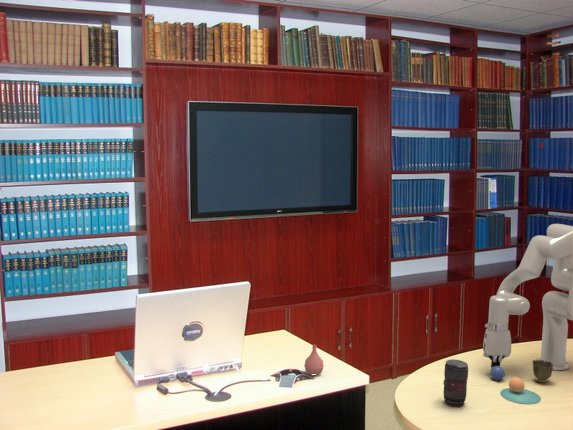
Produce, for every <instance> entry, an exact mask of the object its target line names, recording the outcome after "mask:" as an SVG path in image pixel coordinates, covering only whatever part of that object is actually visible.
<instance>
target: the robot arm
mask: <svg viewBox="0 0 573 430" xmlns="http://www.w3.org/2000/svg"><path fill="white" fill-rule="evenodd" d="M548 259H550V260H551V259H552V260H554V262H553V263H554V264H553V268H552V270H551V276H550V278H551V279H550V282H551V285H552V286H553V287H554V288H557V289H558V290H562V291H565V292H568V294H567V293H565V292H561V291H557V290H551V291H547V292H546V293H545V294H544V295H543V297H542V301H541V307H542V314H543V315H542V316H543V322H542V335H541V336H542V337H541V349H540V350H541V351H540V357H539V358H537V359H536V360H538V361H539V360H541V361H542V360H543V361H544V362H545V361H546V360H547V362H549V361H550V362H551V363H552V365H553V369H552V371H553V370H554V371H565V370H568V369H569V368H570V363H568V362H567V361H566V359H567V357H566V354H567V343H568V331H569V329H568V328H569V324H568V320H570V321H573V225H568V224H563V223H562V224H561V223H552V224H550V225H549V226H548V227H547V229H546V235H535V236H533V237H532V238H531V240H530V241H529V244H528V246H527V248H526V250H525V252H524V254H523V256H522V259H521V262H520V264H519V266H518V267H517V268H516V269H515V270H513V271H512V272H511V273H509V274H508V275H507V276H506V277H505V278H504V279H503V281H502V282H501V284H500V285H499V288H498V289H497V292H496V295H492V296H490V298H489V304H488V305H489V307H488V321H487V323H485V325H484V327H485V328H486V329H485V332H484V337H483V345H482V351H483V353H482V356H483V357H485V358H488V359H490V360H491V363H490V364H491V365H490V366H491V367H490V369H491V368H492V367H494V366H500V367H501V363H502V361H503V360H504V359H505V358H508V357H510V355H511V353H512V337H511V335H512V334H511V331H510V330H509V320H510V318H509V316H510V315H516V316H523V315H525V314H526V313H527V312H529V310H530V308H531V303H530V302H529V301H530V300H528V299H527V298H526V297H524V296H522V295H519V294H516V293H514V292H515V290H516V289H517V287H518V286H519V285H520V284H521V283H523V282H526V281H530V280H533V279H537V278H539V277H540V276H541V273H542V271H543V269H544V266H546V265H545V264H546V262H547V261H548Z"/></svg>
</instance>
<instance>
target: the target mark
mask: <svg viewBox="0 0 573 430" xmlns="http://www.w3.org/2000/svg"><path fill="white" fill-rule="evenodd" d="M499 394H500V396H501V397H502V398H503V399H505V400H507V401H509V402H513V403H516V404H521V405H535V404H538V403H540V402H541V400H542V398H541V396H540V395H539V394H538V393H536V392H534V391H532V390H530V389H529V390H528V389H525V388H524V390H523V391H522V392H520V393H515V392H513V391H512V390H511V389H510V387H508V388H502V389H501V390H500V393H499Z"/></svg>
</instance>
